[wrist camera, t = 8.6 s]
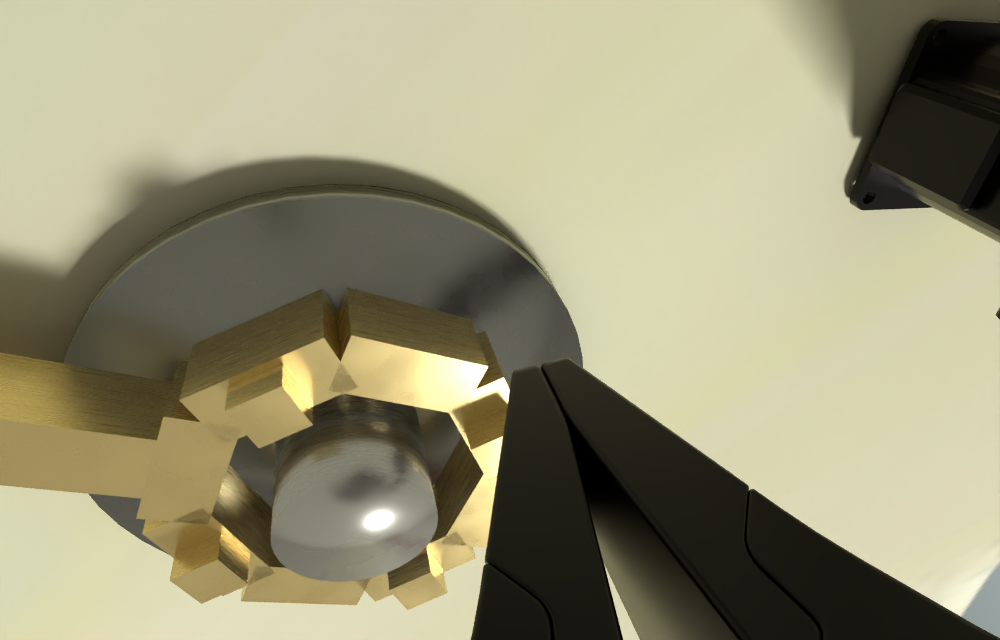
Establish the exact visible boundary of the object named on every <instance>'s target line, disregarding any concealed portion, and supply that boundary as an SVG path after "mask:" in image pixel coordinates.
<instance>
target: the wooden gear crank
mask: <svg viewBox="0 0 1000 640" xmlns="http://www.w3.org/2000/svg"><path fill="white" fill-rule="evenodd" d="M509 390H510V383H509V381H508V379H507V377H506V375H505V372H504V370H503V368H502V366H501V364H500V362H499V359H498V357H497V355H496V353H495V351H494V348H493V346H492V344H491V342H490V340H489V337H488V335H487V333H486V331H482V332H480V333H478V334H476V332H475V329H474V326H473V324H472V321H471V319H468V318H464V317H460V316H456V315H452V314H448V313H445V312H441V311H437V310H433V309H429V308H425V307H422V306H418V305H414V304H410V303H406V302H402V301H399V300H395V299H391V298H387V297H383V296H379V295H376V294H372V293H368V292H364V291H360V290H356V289H353V288H349V287H347V288H346V290H345V293H344V295H343V298H342V300H341V303H340V305H339V308H338V310H337V311H336V309H335V308H334V306H333V305H332V303H331V302H330V300H329V298H328V297H327V295H326V294H325V292H324V291H323V289H320V290H318V291H315V292H313V293H311V294H309V295H306V296H304V297H302V298H299V299H297V300H295V301H292V302H290V303H288V304H285V305H283V306H281V307H278V308H276V309H274V310H272V311H269V312H267V313H265V314H262V315H260V316H258V317H255V318H253V319H251V320H248V321H246V322H244V323H241V324H239V325H237V326H234V327H232V328H230V329H228V330H225V331H223V332H221V333H218V334H216V335H214V336H211V337H209V338H207V339H204V340H202V341H200V342H197V343H195V344H193V346H192V350H191V354H190V358H189V362H188V361H183V360H178V363H177V367H176V371H175V374H174V378H173V382H169V381H163V380H158V379H152V378H146V377H140V376H134V375H128V374H123V373H117V372H111V371H105V370H99V369H93V368H88V367H82V366H76V365H70V364H64V363H58V362H53V361H47V360H41V359H35V358H29V357H23V356H18V355H12V354H6V353H0V485H4V486H15V487H25V488H36V489H46V490H57V491H67V492H78V493H88V494H99V495H109V496H120V497H130V498H141V502H140V506H139V510H138V513H137V517H136V519H146V520H145V524H144V528H143V532H142V534H143V535H144V536H146V537H147V538H148V539H150V540H151V541H152V542H154V543H155V544H156V545H157V546H159V547H160V548H161V549H163V550H164V551H165V552H167V553H168V554H169V555H170V556H172V557H173V558H174V561H173V566H172V571H171V576H170V581H171V582H173V583H174V584H175V585H177V586H178V587H179V588H181V589H182V590H184V591H185V592H186V593H188V594H189V595H190V596H192V597H193V598H194V599H196V600H197V601H199V602H200V603H201V604H202V603H204V602H206V601H209V600H211V599H213V598H216V597H218V596H220V595H222V596H224V595H226V594H229V593H231V592H233V591H235V590H238V589H240V588H242V596H241V601H249V602H279V603H309V604H339V605H357V603H358V601H359V600H360V598H361V596H362V594H363V592H364V591H366V592H367V593H368V594H369V595H370V596H371V597H372V598H373V599H374V601H378V600H380V599H382V598H385V597H387V596H389V595H392V594H393V595H394V596H395V597H396V598H397V599H398V600H399V601H400V602H401V603H402V604H403V605H404V607H405V608H406V609H407V610H409V609H411V608H413V607H416V606H418V605H420V604H423V603H425V602H427V601H430V600H432V599H434V598H437V597H439V596H441V595H443V594H446V593H447V589H446V584H445V579H444V573H443V572H445V571H447V570H449V569H452V568H454V567H456V566H459V565H461V564H463V563H466V562H468V561H470V560H473V559H475V554H474V550H473V547H485V548H487V542H488V535H489V528H490V521H491V514H492V507H493V501H494V494H495V487H496V480H497V473H498V466H499V459H500V452H501V445H502V438H503V431H504V425H505V418H506V411H507V404H508V397H509ZM343 393H344V394H350V395H355V396H361V397H366V398H371V399H377V400H382V401H388V402H393V403H399V404H404V405H409V406H415V407H420V408H426V409H431V410H437V411H442V412H447V413H449V414H450V416H451V417H452V419H453V421H454V423H455V424H456V426H457V428H458V430H459V431H460V433H461V435H462V436H461V438H460V440H459V441H458V443H457V445H456V447H455V449H454V450H453V452H452V454H451V456H450V457H449V459H448V461H447V463H446V465H445V466H444V468H443V470H442V472H441V473H440V475H439V477H438V479H437V481H436V482H435V484H433V485H432V488H433V493H434V498H435V503H436V507H437V512H438V523H437V528H436V531H435V534H434V535H433V537H432V539H431V541H430V542H429V543H428V545H427V546H426V547H425V548H424V549H423V550H422V551H421V552H420V553H419V554H418V555H417V556H416V557H414V558H413V559H412V560H410V561H409V562H407V563H405V564H404V565H402V566H400V567H398V568H396V569H394V570H392V571H390V572H387V573H384V574H382V575H379V576H375V577H372V578H367V579H362V580H356V581H346V582H330V581H320V580H315V579H311V578H307V577H304V576H301V575H299V574H297V573H295V572H293V571H291V570H289V569H288V568H287V567H285V566H284V565H283V564H282V563H281V562H280V561H279V560H278V559H277V557H276V556H275V554H274V552H273V549H272V546H271V521H272V508H271V507H270V506H269V505H268V504H267V503H266V502H265V501H264V500H263V499H262V498H261V497H260V496H259V495H258V494H257V493H256V492H255V491H254V490H253V489H252V488H251V487H250V486H249V485H248V483H247V482H246V481H245V480H244V479H243V478H242V477H241V476H240V475H239V474H238V473H237V472H236V471H235V470H234V469H233V468H232V467H231V466H230V465H229V463H230V460H231V457H232V454H233V451H234V448H235V445H236V442H237V439H239V438H241V437H244V436H246V435H247V436H248V437H249V438H250V439H251V441H252V442H253V443H254V444H255V445H256V446H257V447H258V448H261V447H264V446H266V445H268V444H271V443H273V442H275V441H277V440H280V439H282V438H284V437H287V436H289V435H291V434H294V433H296V432H298V431H301V430H303V429H305V428H308V427H310V426H312V425H313V406H315V405H318V404H320V403H322V402H325V401H327V400H329V399H332V398H334V397H336V396H339V395H341V394H343Z"/></svg>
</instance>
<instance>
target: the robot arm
mask: <svg viewBox="0 0 1000 640" xmlns="http://www.w3.org/2000/svg"><path fill="white" fill-rule="evenodd" d="M936 33H937V35H936V37H935V38H934V36H935V34H936ZM933 38H934V40H933ZM866 194H867V195H866ZM865 195H866V196H865ZM850 203H851V204H852V205H854V206H855V207H857V208H858V209H860V210H881V209H906V208H930V207H933V208H935V209H937V210H939V211H941V212H943V213H944V214H946V215H948V216H950V217H952V218H954V219H956V220H958V221H960V222H961V223H963V224H965V225H967V226H969V227H971V228H973V229H975V230H977V231H978V232H980V233H982V234H984V235H986V236H988V237H990V238H992V239H994V240H995V241H997V242H999V243H1000V21H984V20H965V19H946V18H935V19H932V20H930V21H928V22H927V23H926V24H925V25H924V26H923V27H922V28H921V30H920V32H919V33H918V35H917V38H916V40H915V42H914V45H913V47H912V50H911V52H910V54H909V57H908V59H907V61H906V64H905V66H904V69H903V71H902V73H901V76H900V78H899V80H898V83H897V85H896V87H895V90H894V92H893V95H892V97H891V99H890V102H889V104H888V106H887V109H886V111H885V114H884V116H883V118H882V121H881V123H880V125H879V128H878V130H877V133H876V135H875V137H874V140H873V142H872V144H871V147H870V149H869V152H868V154H867V156H866V159H865V161H864V163H863V166H862V168H861V170H860V173H859V175H858V178H857V180H856V182H855V185H854V187H853V189H852V192H851V195H850ZM996 316H997V317H998V318H999V319H1000V308H999V310H998V311H997V313H996ZM603 562H604V563H603ZM485 564H486V565H484V567H483V574H482V581H481V588H480V594H479V600H478V605H477V611H476V616H475V622H474V627H473V633H472V637H471V640H623V637H622V634H621V630H620V626H619V622H618V618H617V614H616V610H615V606H614V602H613V598H612V594H611V590H610V586H609V582H608V578H607V574H606V570H605V566H606V568H607V570H608V573H609V575H610V577H611V579H612V581H613V583H614V585H615V587H616V590H617V592H618V594H619V596H620V598H621V600H622V602H623V604H624V607H625V609H626V611H627V613H628V615H629V617H630V619H631V621H632V624H633V626H634V628H635V630H636V632H637V634H638V636H639V638H640V640H1000V638H998V637H996V636H994V635H993V634H991V633H989V632H987V631H985V630H983V629H981V628H980V627H978V626H976V625H974V624H972V623H971V622H969V621H967V620H965V619H964V618H962V617H960V616H959V615H957V614H955V613H953V612H952V611H950V610H948V609H946V608H945V607H943V606H941V605H940V604H938V603H936V602H934V601H933V600H931V599H929V598H927V597H926V596H924V595H922V594H921V593H919V592H917V591H915V590H914V589H912V588H910V587H908V586H907V585H905V584H903V583H902V582H900V581H898V580H896V579H895V578H893V577H891V576H889V575H888V574H886V573H884V572H883V571H881V570H879V569H877V568H876V567H874V566H872V565H870V564H869V563H867V562H865V561H864V560H862V559H860V558H858V557H857V556H855V555H854V554H852V553H850V552H849V551H847V550H845V549H844V548H842V547H840V546H839V545H837V544H835V543H834V542H832V541H830V540H829V539H827V538H826V537H824V536H822V535H821V534H819V533H817V532H816V531H814V530H813V529H811V528H810V527H808V526H807V525H805V524H804V523H802V522H801V521H799V520H798V519H796V518H795V517H793V516H792V515H790V514H789V513H787V512H786V511H784V510H783V509H781V508H780V507H778V506H777V505H776V504H774V503H773V502H771V501H770V500H769V499H767V498H766V497H764V496H763V495H762V494H760V493H759V492H757V491H756V490H754V489H751V490H749V486H748V485H747V484H746V483H744V482H743V481H741V480H740V479H739V478H737V477H736V476H734V475H733V474H732V473H730V472H729V471H727V470H726V469H725V468H723V467H722V466H720V465H719V464H717V463H716V462H715V461H713V460H712V459H710V458H709V457H708V456H706V455H705V454H703V453H702V452H701V451H699V450H698V449H696V448H695V447H693V446H692V445H691V444H689V443H688V442H686V441H685V440H684V439H682V438H681V437H679V436H678V435H677V434H675V433H674V432H672V431H671V430H670V429H668V428H667V427H665V426H664V425H662V424H661V423H660V422H658V421H657V420H655V419H654V418H653V417H651V416H650V415H648V414H647V413H646V412H644V411H643V410H641V409H640V408H638V407H637V406H636V405H634V404H633V403H631V402H630V401H629V400H627V399H626V398H624V397H623V396H622V395H620V394H619V393H617V392H616V391H615V390H613V389H612V388H610V387H609V386H607V385H606V384H605V383H603V382H602V381H600V380H599V379H598V378H596V377H595V376H593V375H592V374H591V373H589V372H588V371H586V370H585V369H583V368H582V367H581V366H579V365H578V364H576V363H575V362H574V361H572V360H571V359H569V358H561V359H557V360H553V361H549V362H545V363H543V364H542V366H541V368H540V367H539V366H537V365H533V366H530V367H526V368H522V369H518V370H515V371H514V372H513V373H512V376H511V383H510V390H509V397H508V404H507V411H506V418H505V425H504V431H503V438H502V445H501V452H500V459H499V466H498V473H497V480H496V487H495V494H494V501H493V507H492V514H491V521H490V528H489V535H488V542H487V549H486V556H485ZM604 564H605V566H604Z"/></svg>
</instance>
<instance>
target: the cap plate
mask: <svg viewBox="0 0 1000 640" xmlns="http://www.w3.org/2000/svg"><path fill="white" fill-rule="evenodd" d="M347 287H349V288H353V289H356V290H360V291H364V292H368V293H372V294H376V295H379V296H383V297H387V298H391V299H395V300H399V301H402V302H406V303H410V304H414V305H418V306H422V307H425V308H429V309H433V310H437V311H441V312H445V313H448V314H452V315H456V316H460V317H464V318H468V319H471V321H472V324H473V326H474V329H475V332H476V334H478V333H480V332H482V331H486V333H487V335H488V337H489V340H490V342H491V344H492V346H493V348H494V351H495V353H496V355H497V357H498V359H499V362H500V364H501V366H502V368H503V370H504V372H505V375H506V377H507V379H508V381H509V383H511V376H512V373H513V372H514V371H515V370H518V369H522V368H526V367H530V366H533V365H537V366H539V367H540V368H541V366H542V364H543V363H545V362H549V361H553V360H557V359H561V358H569V359H571V360H572V361H574V362H575V363H576V364H578V365H579V366H581V367H582V368H583V361H582V353H581V348H580V344H579V339H578V335H577V332H576V329H575V327H574V324H573V322H572V319H571V317H570V315H569V312H568V310H567V308H566V307H565V305H564V303H563V302H562V300H561V298H560V297H559V295H558V293H557V292H556V290H555V289H554V287H553V285H552V284H551V282H550V281H549V279H548V277H547V276H546V274H545V273H544V272H543V271H542V269H541V268H540V267H539V266H538V265H537V264H536V263H535V261H534V260H533V259H532V258H531V257H530V256H529V255H528V253H527V252H525V251H524V250H523V249H522V248H521V247H519V246H518V245H517V244H516V243H515V242H513V241H512V240H511V239H510V238H509V237H507V236H506V235H505V234H504V233H502V232H501V231H499V230H497V229H496V228H494V227H493V226H491V225H489V224H488V223H486V222H484V221H483V220H481V219H480V218H478V217H476V216H474V215H472V214H469V213H467V212H465V211H463V210H460V209H458V208H456V207H453V206H451V205H449V204H447V203H444V202H441V201H438V200H434V199H431V198H427V197H424V196H420V195H417V194H413V193H410V192H405V191H398V190H392V189H386V188H380V187H373V186H357V185H330V184H329V185H317V186H305V187H293V188H285V189H281V190H276V191H271V192H266V193H261V194H256V195H252V196H247V197H244V198H241V199H238V200H235V201H232V202H229V203H226V204H223V205H220V206H217V207H214V208H212V209H209V210H206V211H204V212H202V213H200V214H198V215H196V216H194V217H192V218H190V219H188V220H186V221H184V222H182V223H180V224H178V225H176V226H174V227H172V228H170V229H169V230H167V231H166V232H164V233H163V234H161V235H160V236H159V237H157V238H156V239H154V240H153V241H151V242H150V243H148V244H147V245H145V246H144V247H142V248H141V249H139V250H138V251H137V252H136V253H135V254H134V255H133V256H132V257H131V258H130V259H129V260H128V261H127V262H125V263H124V264H123V265H122V266H121V267H120V268H119V269H118V270H117V271H116V272H115V273H114V274H113V275H112V276H111V277H110V279H109V280H108V281H107V282H106V284H105V285H104V286H103V288H102V289H101V290H100V291H99V293H98V294H97V295H96V297H95V298H94V299H93V301H92V302H91V304H90V306H89V308H88V310H87V312H86V314H85V315H84V317H83V319H82V321H81V323H80V325H79V327H78V329H77V331H76V333H75V335H74V337H73V339H72V341H71V343H70V345H69V347H68V349H67V351H66V355H65V358H64V362H63V363H64V364H70V365H76V366H82V367H88V368H93V369H99V370H105V371H111V372H117V373H123V374H128V375H134V376H140V377H146V378H152V379H158V380H163V381H169V382H173V378H174V374H175V371H176V367H177V363H178V360H183V361H188V362H189V358H190V354H191V350H192V346H193V344H195V343H197V342H200V341H202V340H204V339H207V338H209V337H211V336H214V335H216V334H218V333H221V332H223V331H225V330H228V329H230V328H232V327H234V326H237V325H239V324H241V323H244V322H246V321H248V320H251V319H253V318H255V317H258V316H260V315H262V314H265V313H267V312H269V311H272V310H274V309H276V308H278V307H281V306H283V305H285V304H288V303H290V302H292V301H295V300H297V299H299V298H302V297H304V296H306V295H309V294H311V293H313V292H315V291H318V290H320V289H323V291H324V292H325V294H326V295H327V297H328V298H329V300H330V302H331V303H332V305H333V306H334V308H335V309H336V311H337V310H338V308H339V305H340V303H341V300H342V298H343V295H344V293H345V290H346V288H347ZM461 436H462V435H461V433H460V431H459V430H458V428H457V426H456V424H455V423H454V421H453V419H452V417H451V416H450V414H449V413H447V412H442V411H437V410H431V409H426V408H420V407H415V406H409V405H404V404H399V403H393V402H388V401H382V400H377V399H371V398H366V397H361V396H355V395H350V394H344V393H343V394H341V395H339V396H336V397H334V398H332V399H329V400H327V401H325V402H322V403H320V404H318V405H315V406H313V425H312V426H310V427H308V428H305V429H303V430H301V431H298V432H296V433H294V434H291V435H289V436H287V437H284V438H282V439H280V440H277V441H275V442H273V443H271V444H268V445H266V446H264V447H261V448H258V447H257V446H256V445H255V444H254V443H253V442H252V441H251V439H250V438H249V437H248V436H247V435H246V436H244V437H241V438H239V439H237V442H236V445H235V448H234V451H233V454H232V457H231V460H230V463H229V465H230V466H231V467H232V468H233V469H234V470H235V471H236V472H237V473H238V474H239V475H240V476H241V477H242V478H243V479H244V480H245V481H246V482H247V483H248V485H249V486H250V487H251V488H252V489H253V490H254V491H255V492H256V493H257V494H258V495H259V496H260V497H261V498H262V499H263V500H264V501H265V502H266V503H267V504H268V505H269V506H270V507H271V508H272V521H271V546H272V549H273V552H274V554H275V556H276V557H277V559H278V560H279V561H280V562H281V563H282V564H283V565H284V566H285V567H287V568H288V569H289V570H291V571H293V572H295V573H297V574H299V575H301V576H304V577H307V578H311V579H315V580H320V581H330V582H346V581H356V580H362V579H367V578H372V577H375V576H379V575H382V574H384V573H387V572H390V571H392V570H394V569H396V568H398V567H400V566H402V565H404V564H405V563H407V562H409V561H410V560H412V559H413V558H414V557H416V556H417V555H418V554H419V553H420V552H421V551H422V550H423V549H424V548H425V547H426V546H427V545H428V543H429V542H430V541H431V539H432V537H433V535H434V534H435V531H436V528H437V523H438V512H437V507H436V503H435V498H434V493H433V488H432V485H433V484H435V482H436V481H437V479H438V477H439V475H440V473H441V472H442V470H443V468H444V466H445V465H446V463H447V461H448V459H449V457H450V456H451V454H452V452H453V450H454V449H455V447H456V445H457V443H458V441H459V440H460V438H461ZM89 495H90V496H91V497H92V499H93V500H94V501H95V502H96V503H97V505H98V506H99V507H100V508H101V509H102V510H103V511H104V512H106V513H107V514H108V515H109V516H110V517H111V518H112V519H113V520H114V521H116V522H117V523H118V524H119V525H120V526H122V527H123V528H124V529H126V530H127V531H129V532H130V533H132V534H133V535H135V536H136V537H138V538H139V539H141V540H142V541H144V542H146V543H148V544H150V545H151V546H153V547H155V548H157V549H159V550H161V551H163V552H165V551H164V550H163V549H161V548H160V547H159V546H157V545H156V544H155V543H154V542H152V541H151V540H150V539H148V538H147V537H146V536H144V535H143V534H142V532H143V528H144V524H145V520H146V519H136V517H137V513H138V510H139V506H140V502H141V498H130V497H120V496H109V495H99V494H89ZM165 553H167V552H165ZM167 554H168V553H167Z"/></svg>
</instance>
